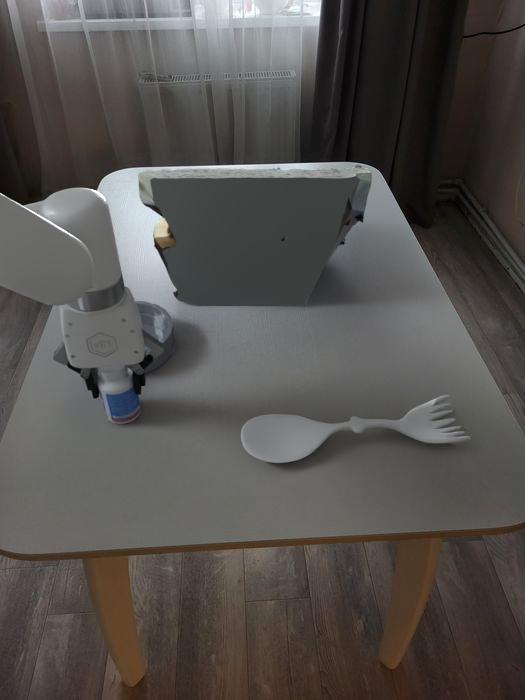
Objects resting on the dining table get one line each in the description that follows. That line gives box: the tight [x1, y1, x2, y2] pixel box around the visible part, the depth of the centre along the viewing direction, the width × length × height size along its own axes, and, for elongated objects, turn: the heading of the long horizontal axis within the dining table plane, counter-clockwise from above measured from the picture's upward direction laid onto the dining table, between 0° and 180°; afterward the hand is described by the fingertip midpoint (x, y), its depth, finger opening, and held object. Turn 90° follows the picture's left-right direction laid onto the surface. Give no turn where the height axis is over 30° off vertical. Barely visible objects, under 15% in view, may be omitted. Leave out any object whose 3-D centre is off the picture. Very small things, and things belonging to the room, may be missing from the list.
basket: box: [137, 164, 373, 307], centre depth 107 cm, size 40×31×28 cm
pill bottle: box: [97, 365, 142, 425], centre depth 82 cm, size 6×5×10 cm
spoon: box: [240, 394, 472, 464], centre depth 80 cm, size 9×32×4 cm, turn 96°
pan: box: [96, 300, 177, 374], centre depth 95 cm, size 16×16×4 cm
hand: (118, 389), depth 82 cm, fingers closed on pill bottle, 5 cm apart
